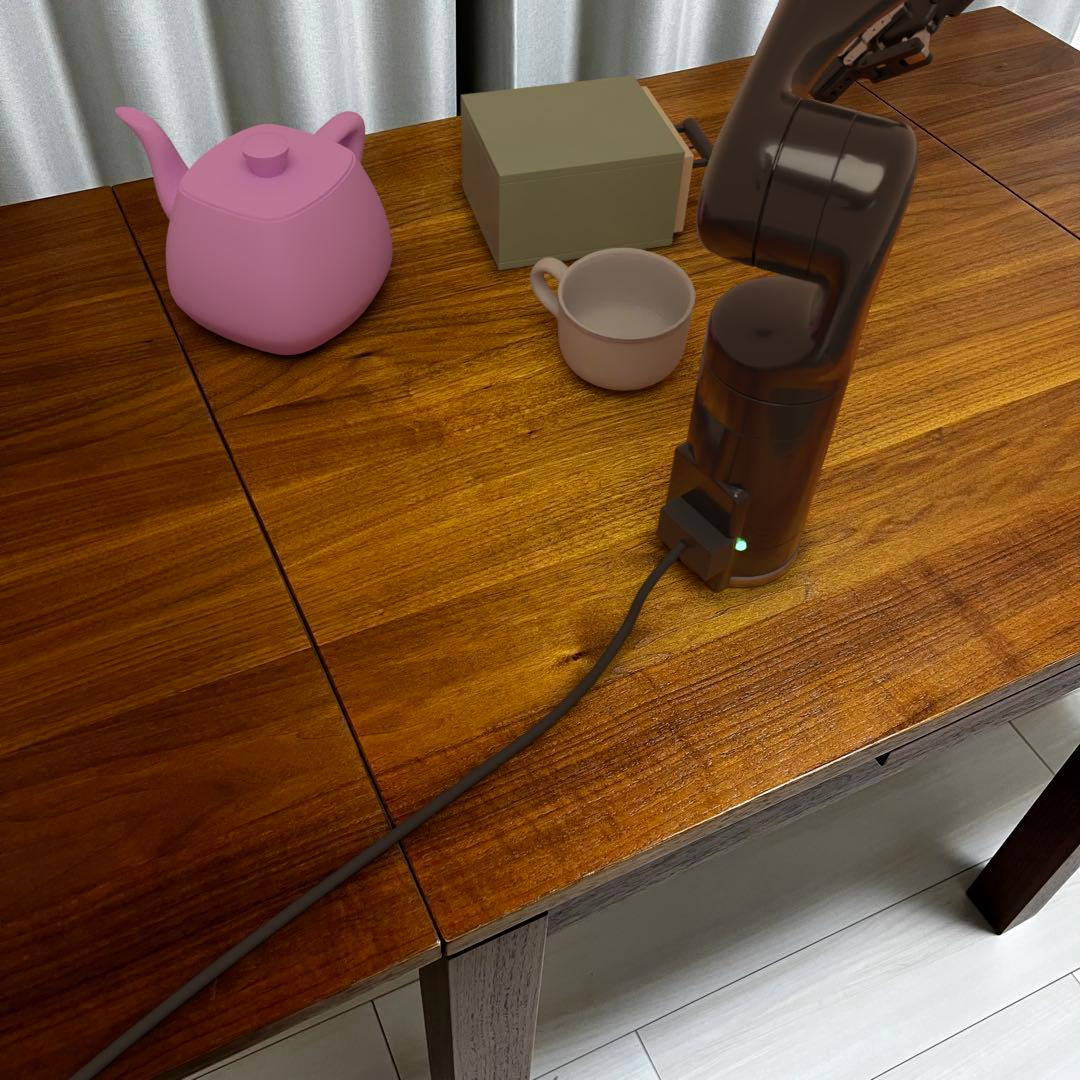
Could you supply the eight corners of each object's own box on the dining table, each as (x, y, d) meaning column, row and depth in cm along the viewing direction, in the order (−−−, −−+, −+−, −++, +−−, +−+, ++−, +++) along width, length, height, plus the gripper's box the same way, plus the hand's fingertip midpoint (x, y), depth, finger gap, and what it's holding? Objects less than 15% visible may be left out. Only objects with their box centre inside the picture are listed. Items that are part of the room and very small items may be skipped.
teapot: (444, 255, 108) (440, 99, 97) (311, 391, 95) (288, 230, 84) (238, 183, 114) (211, 30, 103) (88, 303, 102) (38, 142, 90)
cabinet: (624, 166, 119) (633, 74, 111) (672, 245, 110) (685, 151, 103) (462, 187, 115) (460, 94, 108) (498, 270, 107) (499, 175, 99)
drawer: (679, 154, 119) (689, 80, 113) (726, 225, 111) (740, 149, 105) (486, 179, 115) (486, 104, 109) (521, 254, 107) (523, 178, 101)
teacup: (709, 366, 99) (723, 288, 93) (625, 430, 94) (634, 351, 88) (584, 292, 105) (590, 214, 99) (498, 348, 100) (499, 269, 94)
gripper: (911, -113, 105) (763, 43, 112) (989, -54, 96) (824, 111, 103) (950, -57, 110) (806, 89, 117) (1028, 4, 101) (867, 157, 108)
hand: (815, 99), depth 110 cm, fingers closed
